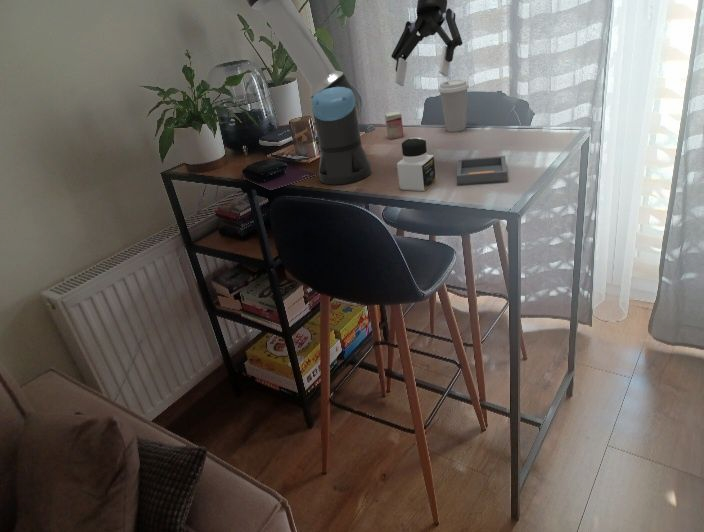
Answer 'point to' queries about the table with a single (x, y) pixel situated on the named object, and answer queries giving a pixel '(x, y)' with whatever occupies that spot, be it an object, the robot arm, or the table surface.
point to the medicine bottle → (416, 166)
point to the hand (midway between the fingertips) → (420, 79)
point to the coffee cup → (454, 104)
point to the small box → (394, 125)
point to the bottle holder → (481, 170)
